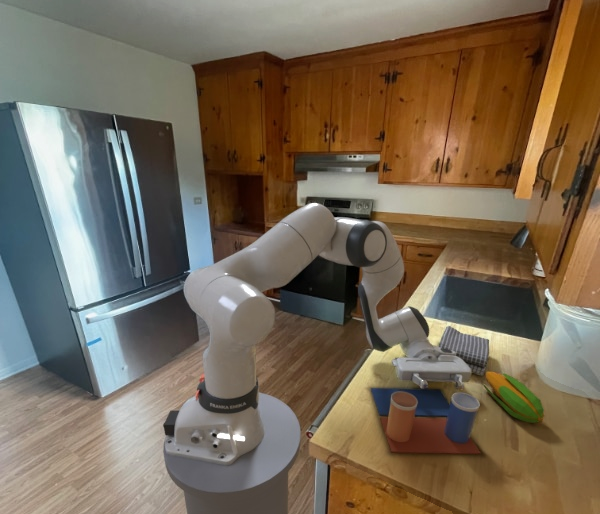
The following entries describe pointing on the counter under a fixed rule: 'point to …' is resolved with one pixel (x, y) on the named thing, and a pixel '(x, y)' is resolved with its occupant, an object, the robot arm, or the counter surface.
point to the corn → (515, 397)
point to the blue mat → (428, 400)
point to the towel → (467, 348)
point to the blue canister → (461, 417)
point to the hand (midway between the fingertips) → (442, 387)
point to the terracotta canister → (401, 416)
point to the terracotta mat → (429, 439)
